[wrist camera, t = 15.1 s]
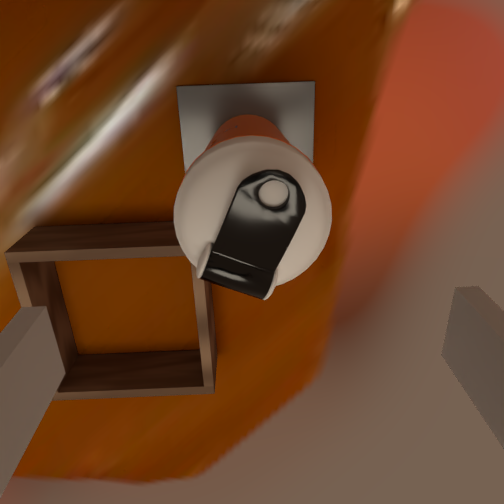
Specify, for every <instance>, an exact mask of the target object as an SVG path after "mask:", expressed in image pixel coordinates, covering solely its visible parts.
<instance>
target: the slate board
mask: <svg viewBox="0 0 504 504" xmlns="http://www.w3.org/2000/svg"><path fill="white" fill-rule="evenodd" d="M176 88H177V97H178V107H179V117H180V126H181V136H182V146H183V156H184V165H185V173H186V171H187V170H188V168H189V167H190V166H191V164H192V163H193V162H194V160H195V159H196V158H197V157H198V156H200V155H201V154H202V153H203V152H204V150H205V149H206V147H207V146H208V144H209V142H210V141H211V139H212V138H213V136H214V134H215V133H216V131H217V130H218V129H219V127H220V126H221V125H223V124H224V123H225V122H226V121H228V120H230V119H231V118H233V117H236V116H239V115H247V114H249V115H257V116H260V117H263V118H265V119H267V120H269V121H270V122H271V123H273V124H274V125H275V126H276V127H277V128H278V129H279V131H280V132H281V133H282V134H283V135H284V137H285V138H286V139H287V140H288V141H289V143H290V144H291V145H292V146H294V147H296V148H297V149H298V150H300V151H301V152H302V153H303V154H304V155H306V156H307V157H308V158H309V160H310V161H311V162H312V163H313V135H314V99H315V81H304V82H278V83H252V84H225V85H199V86H177V87H176Z"/></svg>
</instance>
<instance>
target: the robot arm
mask: <svg viewBox="0 0 504 504" xmlns="http://www.w3.org/2000/svg"><path fill="white" fill-rule="evenodd" d="M441 355H442V357H443V358H444V359H445V361H446V363H447V364H448V366H449V367H450V369H451V370H452V372H453V373H454V375H455V376H456V378H457V379H458V381H459V382H460V384H461V385H462V387H463V388H464V390H465V391H466V393H467V394H468V396H469V397H470V399H471V400H472V402H473V403H474V405H475V406H476V408H477V409H478V411H479V412H480V414H481V415H482V417H483V418H484V420H485V422H486V423H487V425H488V426H489V428H490V429H491V430H492V432H493V433H494V435H495V437H496V438H497V440H498V441H499V442H500V444H501V446H502V447H503V449H504V311H503V310H502V309H501V308H500V307H499V306H498V305H497V304H496V303H495V302H494V301H493V300H492V299H491V298H490V297H489V296H488V295H487V294H486V293H485V292H484V291H483V290H482V289H481V288H480V287H479V286H471V287H455V290H454V295H453V300H452V305H451V310H450V315H449V320H448V325H447V329H446V335H445V340H444V344H443V350H442V354H441ZM64 375H65V370H64V366H63V363H62V359H61V356H60V352H59V349H58V345H57V342H56V338H55V335H54V332H53V328H52V325H51V321H50V318H49V314H48V311H47V307H46V306H37V307H22V308H21V309H20V310H19V311H18V313H17V314H16V315H15V316H14V317H13V319H12V320H11V321H10V322H9V323H8V325H7V326H6V327H5V328H4V330H3V331H2V332H1V333H0V498H1V496H2V494H3V491H4V490H5V488H6V486H7V484H8V482H9V480H10V478H11V477H12V475H13V473H14V471H15V469H16V467H17V465H18V463H19V461H20V459H21V457H22V456H23V454H24V452H25V450H26V448H27V446H28V444H29V442H30V440H31V438H32V436H33V435H34V433H35V431H36V429H37V427H38V425H39V423H40V421H41V419H42V417H43V415H44V413H45V412H46V410H47V408H48V406H49V404H50V402H51V400H52V398H53V396H54V394H55V392H56V391H57V389H58V387H59V385H60V383H61V381H62V379H63V377H64Z"/></svg>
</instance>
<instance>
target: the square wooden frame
mask: <svg viewBox="0 0 504 504" xmlns="http://www.w3.org/2000/svg"><path fill="white" fill-rule="evenodd" d="M4 253H5V257H6V260H7V263H8V266H9V269H10V273H11V276H12V279H13V282H14V285H15V289H16V292H17V295H18V298H19V301H20V304H21V308H22V307H37V306H46V307H47V311H48V314H49V318H50V321H51V325H52V328H53V332H54V335H55V338H56V342H57V345H58V349H59V352H60V356H61V359H62V363H63V366H64V370H65V375H64V377H63V379H62V381H61V383H60V385H59V387H58V389H57V391H56V392H55V394H54V396H53V398H52V400H75V399H98V398H122V397H145V396H168V395H191V394H214V393H215V380H216V367H217V346H216V335H215V323H214V311H213V300H212V288H211V283H210V282H207V281H204V280H201V279H200V278H197V275H196V269H197V268H196V267H195V266H194V265H193V264H192V263H191V269H192V278H193V288H194V297H195V306H196V316H197V325H198V334H199V344H200V350H186V351H162V352H139V353H115V354H91V355H78V352H77V348H76V344H75V341H74V337H73V333H72V329H71V325H70V321H69V318H68V314H67V310H66V306H65V302H64V298H63V295H62V291H61V287H60V283H59V279H58V275H57V272H56V268H55V264H54V261H69V260H93V259H118V258H142V257H167V256H186V255H185V253H184V252H183V250H182V248H181V246H180V244H179V241H178V239H177V236H176V231H175V227H174V221H167V222H142V223H117V224H92V225H67V226H42V227H34V228H33V229H31V230H30V231H29V232H28V233H27V234H26V235H24V236H23V237H22V238H21V239H20V240H19V241H17V242H16V243H15V244H14V245H13V246H12V247H10V248H9V249H8V250H7V251H6V252H4ZM52 400H51V401H52Z"/></svg>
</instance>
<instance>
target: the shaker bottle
mask: <svg viewBox="0 0 504 504" xmlns="http://www.w3.org/2000/svg"><path fill="white" fill-rule="evenodd" d="M331 221H332V211H331V202H330V198H329V194H328V190H327V188H326V186H325V184H324V182H323V180H322V178H321V176H320V174H319V172H318V170H317V168H316V167H315V166H314V165H313V163H312V162H311V161H310V160H309V158H308V157H307V156H306V155H304V154H303V153H302V152H301V151H300V150H298V149H297V148H296V147H294V146H292V145H291V144H290V143H289V141H288V140H287V139H286V138H285V137H284V135H283V134H282V133H281V132H280V131H279V129H278V128H277V127H276V126H275V125H274V124H273V123H271V122H270V121H269V120H267V119H265V118H263V117H260V116H257V115H249V114H247V115H239V116H236V117H233V118H231V119H230V120H228V121H226V122H225V123H224V124H223V125H221V126H220V127H219V129H218V130H217V131H216V133H215V134H214V136H213V138H212V139H211V141H210V142H209V144H208V146H207V147H206V149H205V150H204V152H203V153H202V154H201V155H200V156H198V157H197V158H196V159H195V160H194V162H193V163H192V164H191V166H190V167H189V168H188V170H187V171H186V173H185V175H184V178H183V180H182V182H181V184H180V188H179V190H178V193H177V196H176V201H175V205H174V227H175V231H176V236H177V239H178V241H179V244H180V246H181V248H182V250H183V252H184V253H185V255H186V256H187V258H188V259H189V261H190V262H191V263H192V264H193V265H194V266H195V267H196V268H197V269H196V275H197V278H200V279H201V280H204V281H207V282H210V283H213V284H216V285H219V286H222V287H225V288H228V289H231V290H234V291H238V292H241V293H244V294H247V295H250V296H253V297H256V298H259V299H263V300H266V299H268V298H269V297H270V295H271V294H272V292H273V290H274V288H275V286H277V285H281V284H283V283H285V282H287V281H289V280H292V279H294V278H295V277H297V276H298V275H300V274H301V273H302V272H304V271H305V270H306V269H307V268H308V267H309V266H310V265H311V264H312V263H313V262H314V261H315V260H316V259H317V257H318V256H319V254H320V253H321V251H322V249H323V248H324V246H325V243H326V241H327V238H328V236H329V233H330V227H331Z"/></svg>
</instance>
